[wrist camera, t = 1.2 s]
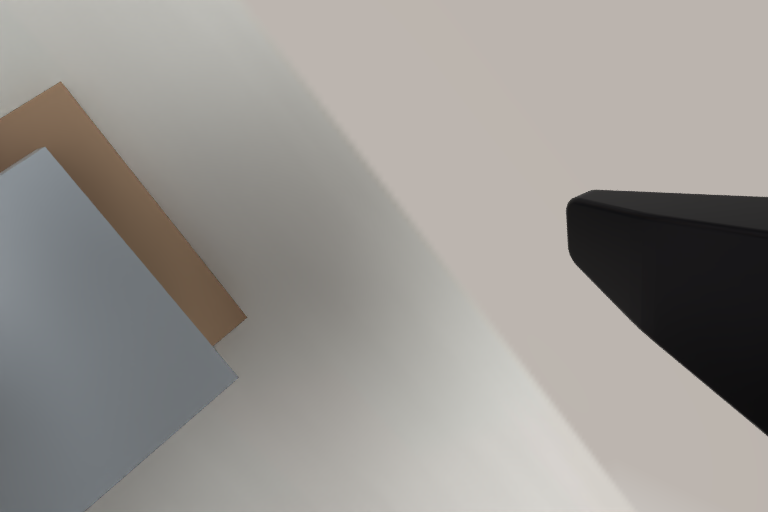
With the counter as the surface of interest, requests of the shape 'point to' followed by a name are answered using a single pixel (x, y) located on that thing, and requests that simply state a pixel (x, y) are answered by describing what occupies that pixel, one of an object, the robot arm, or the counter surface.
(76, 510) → the grey block
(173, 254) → the board
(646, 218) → the robot arm
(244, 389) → the counter surface
